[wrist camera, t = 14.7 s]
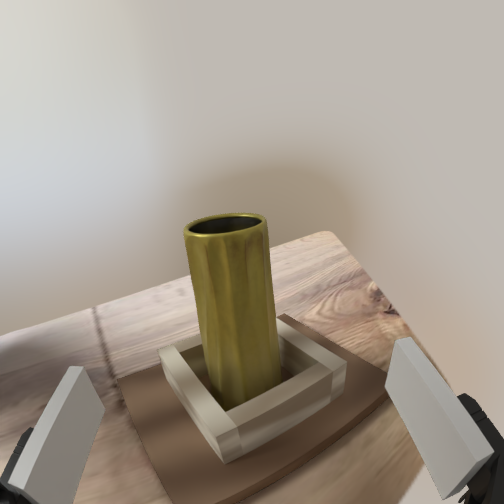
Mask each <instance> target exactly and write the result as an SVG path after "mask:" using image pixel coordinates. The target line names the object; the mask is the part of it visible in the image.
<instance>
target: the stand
mask: <svg viewBox="0 0 504 504" xmlns="http://www.w3.org/2000/svg"><path fill="white" fill-rule="evenodd" d="M276 324H277V332H278V341H279V348H280V359H281V374H282V379H283V382H284V383H282V384H280V385H278V386H276V387H274V388H273V389H271V390H269V391H267V392H265V393H263V394H261V395H259V396H257V397H255V398H253V399H251V400H249V401H247V402H245V403H243V404H241V405H239V406H237V407H235V408H233V409H231V410H229V411H227V412H225V411H224V410H223V409H222V408H221V407H220V405H219V404H218V403H217V402H216V401H215V399H214V398H213V397H212V396H211V384H210V379H209V375H208V370H207V366H206V362H205V356H204V351H203V345H202V340H201V335H200V334H198V335H196V336H193V337H190V338H188V339H185V340H182V341H179V342H177V343H174V344H171V345H168V346H166V347H163V348H160V349H157V351H158V354H159V358H160V361H161V364H159V365H157V366H154V367H151V368H148V369H146V370H143V371H140V372H137V373H134V374H131V375H128V376H125V377H122V378H119V379H117V381H118V384H119V387H120V389H121V392H122V395H123V398H124V400H125V403H126V406H127V408H128V411H129V413H130V416H131V418H132V421H133V423H134V425H135V428H136V430H137V432H138V435H139V437H140V439H141V442H142V444H143V446H144V448H145V450H146V452H147V455H148V457H149V459H150V461H151V463H152V465H153V467H154V469H155V471H156V473H157V475H158V477H159V479H160V481H161V483H162V484H163V486H164V488H165V490H166V492H167V494H168V495H169V497H170V499H171V501H172V503H173V504H235V503H237V502H239V501H241V500H243V499H245V498H247V497H249V496H251V495H252V494H254V493H256V492H258V491H260V490H262V489H263V488H265V487H267V486H269V485H270V484H272V483H274V482H276V481H277V480H279V479H281V478H282V477H284V476H285V475H287V474H289V473H290V472H292V471H293V470H295V469H297V468H298V467H300V466H301V465H303V464H304V463H306V462H307V461H309V460H310V459H312V458H313V457H315V456H316V455H317V454H319V453H320V452H322V451H323V450H325V449H326V448H327V447H329V446H330V445H331V444H333V443H334V442H335V441H337V440H338V439H339V438H341V437H342V436H343V435H345V434H346V433H347V432H348V431H350V430H351V429H352V428H353V427H355V426H356V425H357V424H358V423H360V422H361V421H362V420H363V419H364V418H366V417H367V416H368V415H369V414H370V413H372V412H373V411H374V410H375V409H376V408H377V407H378V406H380V405H381V404H382V403H383V402H384V401H385V400H386V399H387V398H388V397H390V396H389V394H388V392H387V390H386V388H385V383H386V379H387V375H388V373H386V372H384V371H382V370H381V369H379V368H377V367H375V366H373V365H372V364H370V363H368V362H366V361H365V360H363V359H361V358H359V357H358V356H356V355H354V354H352V353H351V352H349V351H347V350H345V349H344V348H342V347H340V346H339V345H337V344H335V343H333V342H332V341H330V340H328V339H327V338H325V337H323V336H321V335H320V334H318V333H316V332H315V331H313V330H311V329H310V328H308V327H306V326H305V325H303V324H301V323H300V322H298V321H296V320H295V319H293V318H291V317H290V316H288V315H286V314H282V315H280V316H278V317H276Z"/></svg>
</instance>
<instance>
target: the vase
mask: <svg viewBox="0 0 504 504" xmlns="http://www.w3.org/2000/svg"><path fill="white" fill-rule="evenodd" d="M184 240H185V246H186V250H187V256H188V262H189V268H190V274H191V280H192V285H193V290H194V295H195V301H196V307H197V315H198V322H199V328H200V335H201V340H202V345H203V351H204V356H205V362H206V366H207V370H208V375H209V379H210V384H211V396H212V397H213V398H214V399H215V401H216V402H217V403H218V404H219V405H220V407H221V408H222V409H223V410H224V411H225V412H227V411H229V410H231V409H233V408H235V407H237V406H239V405H241V404H243V403H245V402H247V401H249V400H251V399H253V398H255V397H257V396H259V395H261V394H263V393H265V392H267V391H269V390H271V389H273V388H274V387H276V386H278V385H280V384H282V383H284V382H283V379H282V374H281V359H280V348H279V341H278V332H277V324H276V313H275V304H274V295H273V285H272V275H271V264H270V251H269V237H268V227H267V221H266V219H265V217H263V216H262V215H259V214H253V213H228V214H220V215H214V216H209V217H204V218H201V219H198V220H195V221H193V222H191V223H189V224H187V225H186V226H185V228H184Z"/></svg>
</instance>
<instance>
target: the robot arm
mask: <svg viewBox="0 0 504 504" xmlns="http://www.w3.org/2000/svg"><path fill="white" fill-rule="evenodd" d="M385 388H386V390H387V392H388V394H389V396H390V398H391V399H392V401H393V403H394V405H395V407H396V409H397V411H398V412H399V414H400V416H401V418H402V420H403V422H404V424H405V426H406V427H407V429H408V431H409V433H410V435H411V437H412V439H413V441H414V443H415V445H416V447H417V449H418V451H419V453H420V455H421V457H422V459H423V461H424V463H425V465H426V467H427V469H428V471H429V473H430V475H431V477H432V479H433V481H434V483H435V485H436V487H437V489H438V491H439V493H440V496H441V498H442V500H444V499H447V498H448V497H450V496H453V495H454V494H456V493H458V492H460V491H461V490H462V489H463V488H464V487H465V485H467V486H468V488H469V490H468V491H467V492H466V493H465V494H464V495H463V496H462V497H461V498H460V500H459V501H458V503H461V502H462V501H463V500H464V499H465V501H464V504H504V439H503V437H502V436H501V435H500V433H499V432H498V430H497V429H496V428H495V426H494V425H493V423H492V422H491V421H490V419H489V418H487V415H486V414H485V412H484V411H482V409H481V407H480V406H479V404H478V403H477V402H476V400H475V399H473V398H472V397H470V396H468V395H467V394H465V393H464V394H461V395H459V396H457V397H456V395H455V394H454V393H453V391H452V390H451V388H450V387H449V386H448V384H447V383H446V382H445V380H444V379H443V378H442V376H441V375H440V374H439V372H438V371H437V370H436V369H435V367H434V366H433V365H432V363H431V362H430V361H429V360H428V358H427V357H426V356H425V354H424V353H423V352H422V351H421V349H420V348H419V347H418V346H417V344H416V343H415V342H414V341H413V339H412V338H411V337H407V338H403V339H398V340H395V343H394V348H393V353H392V358H391V362H390V366H389V371H388V375H387V379H386V383H385ZM105 410H106V409H105V407H104V406H103V404H102V402H101V400H100V398H99V396H98V394H97V392H96V390H95V388H94V387H93V385H92V383H91V380H90V378H89V376H88V374H87V372H86V370H85V368H84V367H82V366H70V367H69V368H68V370H67V372H66V373H65V375H64V377H63V378H62V380H61V382H60V383H59V385H58V387H57V388H56V390H55V392H54V394H53V395H52V397H51V399H50V401H49V402H48V404H47V406H46V408H45V410H44V411H43V413H42V415H41V417H40V419H39V420H38V422H37V424H36V426H35V428H31V427H30V428H29V429H28V430H27V431H26V432H25V433H23V434H22V436H21V438H20V440H19V442H18V443H17V446H16V447H15V449H14V451H13V452H14V453H12V455H11V457H10V459H9V461H8V463H7V465H6V467H5V469H4V472H3V474H2V476H1V478H0V504H73V501H74V498H75V494H76V491H77V488H78V485H79V482H80V479H81V476H82V473H83V470H84V467H85V464H86V461H87V458H88V455H89V453H90V450H91V447H92V444H93V442H94V439H95V436H96V433H97V431H98V428H99V425H100V423H101V420H102V418H103V415H104V412H105Z"/></svg>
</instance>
